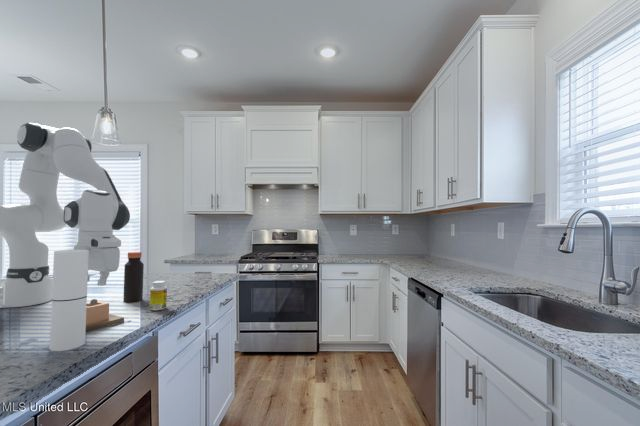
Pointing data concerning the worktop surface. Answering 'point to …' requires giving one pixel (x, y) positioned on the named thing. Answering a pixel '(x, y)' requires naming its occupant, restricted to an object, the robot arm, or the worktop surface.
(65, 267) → the cylindrical container
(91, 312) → the light brown block
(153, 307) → the supplement bottle
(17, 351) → the worktop surface
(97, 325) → the pin stand
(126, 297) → the vinegar
